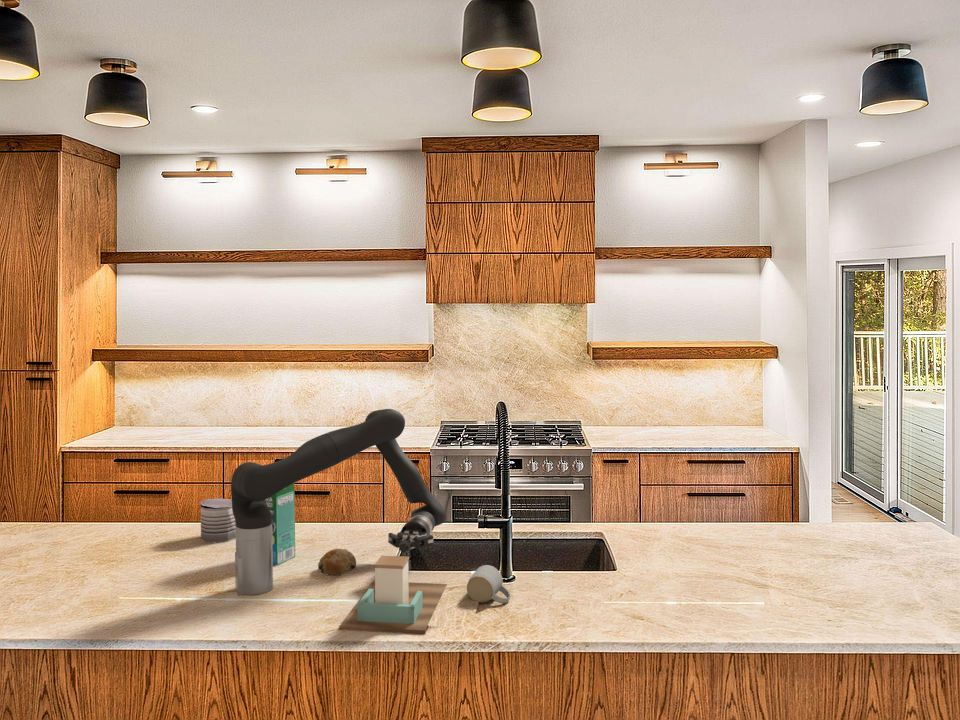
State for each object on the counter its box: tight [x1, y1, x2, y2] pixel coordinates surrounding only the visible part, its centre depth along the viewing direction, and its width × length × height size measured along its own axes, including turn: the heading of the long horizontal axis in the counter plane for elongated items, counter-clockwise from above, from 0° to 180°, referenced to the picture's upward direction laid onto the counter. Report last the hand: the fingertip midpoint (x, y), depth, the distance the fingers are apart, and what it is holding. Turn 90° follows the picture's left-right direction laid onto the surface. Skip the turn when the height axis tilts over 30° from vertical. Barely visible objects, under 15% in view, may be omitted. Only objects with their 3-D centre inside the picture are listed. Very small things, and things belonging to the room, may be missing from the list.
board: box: [339, 580, 447, 635], centre depth 189 cm, size 30×20×1 cm, turn 173°
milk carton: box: [266, 483, 296, 566], centre depth 224 cm, size 9×9×25 cm
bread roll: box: [317, 548, 357, 576], centre depth 216 cm, size 10×10×8 cm
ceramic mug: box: [466, 564, 511, 604], centre depth 194 cm, size 11×8×8 cm
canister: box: [374, 555, 410, 605], centre depth 183 cm, size 7×7×13 cm
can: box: [199, 498, 236, 544], centre depth 246 cm, size 11×11×12 cm
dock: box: [357, 588, 423, 624], centre depth 182 cm, size 10×13×4 cm
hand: (403, 548), depth 197 cm, fingers closed
